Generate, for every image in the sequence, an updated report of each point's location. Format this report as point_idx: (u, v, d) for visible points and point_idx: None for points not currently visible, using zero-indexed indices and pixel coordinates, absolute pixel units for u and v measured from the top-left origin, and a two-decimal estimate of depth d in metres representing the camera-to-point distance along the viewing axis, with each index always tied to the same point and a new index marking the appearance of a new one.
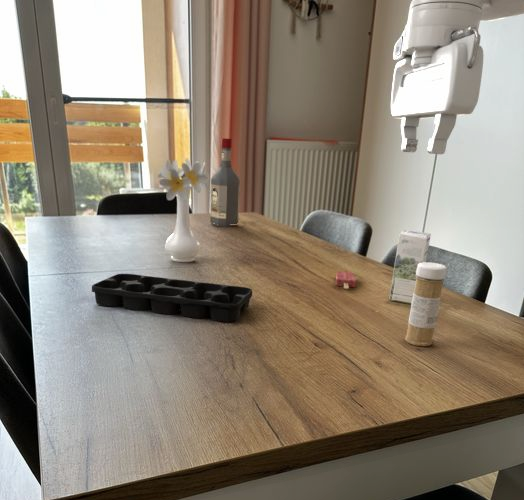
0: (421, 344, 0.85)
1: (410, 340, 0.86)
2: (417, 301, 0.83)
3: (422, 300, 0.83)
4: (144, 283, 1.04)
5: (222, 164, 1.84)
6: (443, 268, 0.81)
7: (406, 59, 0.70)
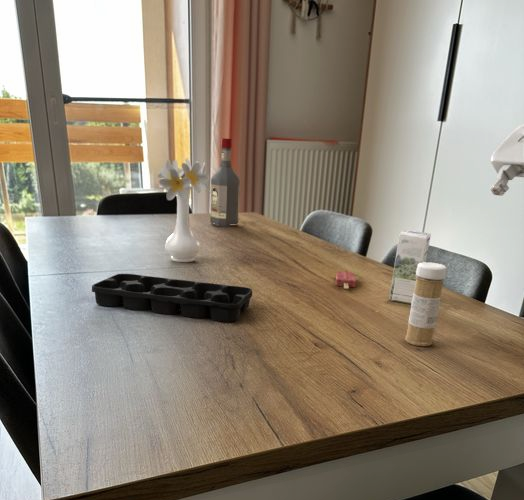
0: (421, 344, 0.85)
1: (410, 340, 0.86)
2: (417, 301, 0.83)
3: (422, 300, 0.83)
4: (144, 283, 1.04)
5: (222, 164, 1.84)
6: (443, 268, 0.81)
7: None
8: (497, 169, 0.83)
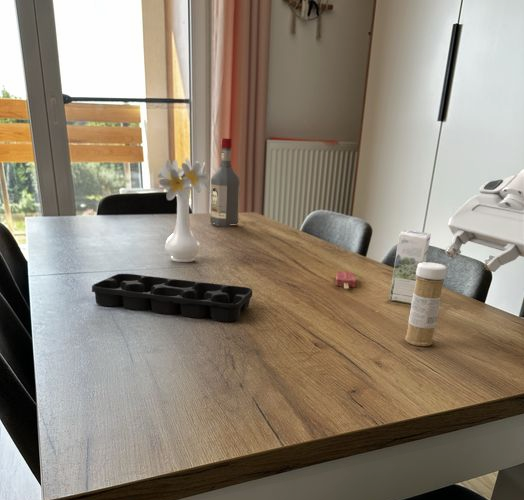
0: (421, 344, 0.85)
1: (410, 340, 0.86)
2: (417, 301, 0.83)
3: (422, 300, 0.83)
4: (144, 283, 1.04)
5: (222, 164, 1.84)
6: (443, 268, 0.81)
7: (496, 195, 0.86)
8: (453, 232, 0.92)
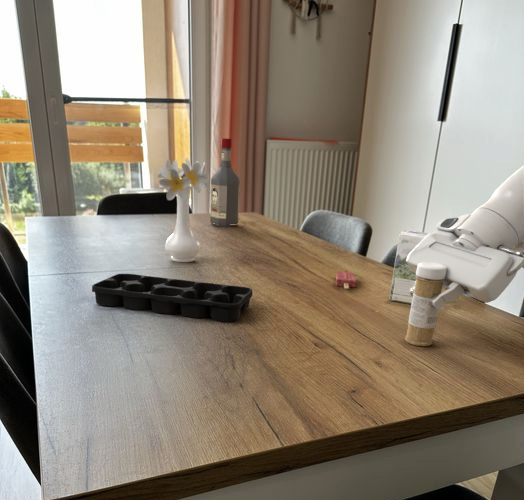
0: (421, 344, 0.85)
1: (410, 340, 0.86)
2: (417, 301, 0.83)
3: (422, 300, 0.83)
4: (144, 283, 1.04)
5: (222, 164, 1.84)
6: (443, 268, 0.81)
7: (451, 234, 0.86)
8: (412, 268, 0.92)
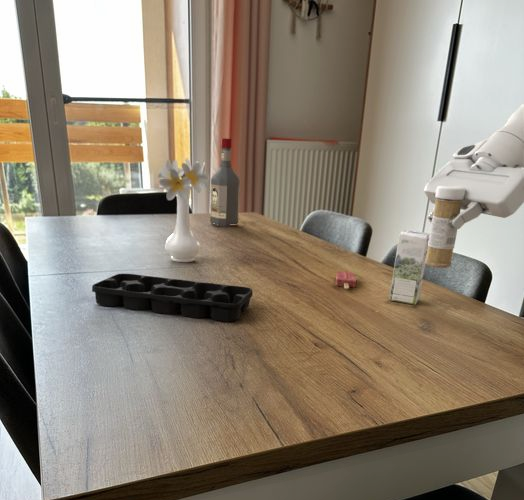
0: (440, 265, 0.89)
1: (430, 262, 0.90)
2: (436, 222, 0.87)
3: (442, 221, 0.87)
4: (144, 283, 1.04)
5: (222, 164, 1.84)
6: (462, 188, 0.85)
7: (468, 160, 0.90)
8: (429, 198, 0.96)
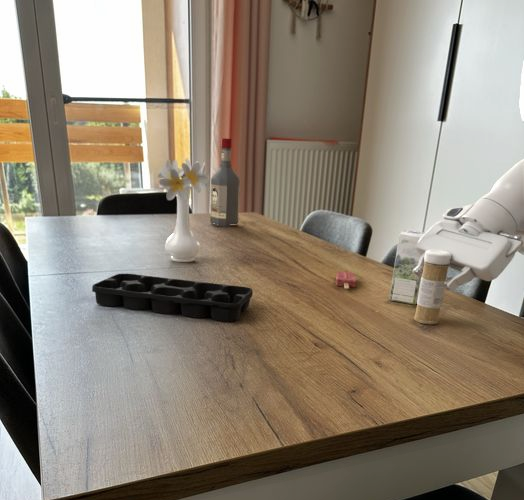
0: (428, 322, 0.96)
1: (418, 319, 0.97)
2: (425, 284, 0.94)
3: (429, 283, 0.94)
4: (144, 283, 1.04)
5: (222, 164, 1.84)
6: (448, 254, 0.92)
7: (456, 222, 0.96)
8: (421, 254, 1.03)
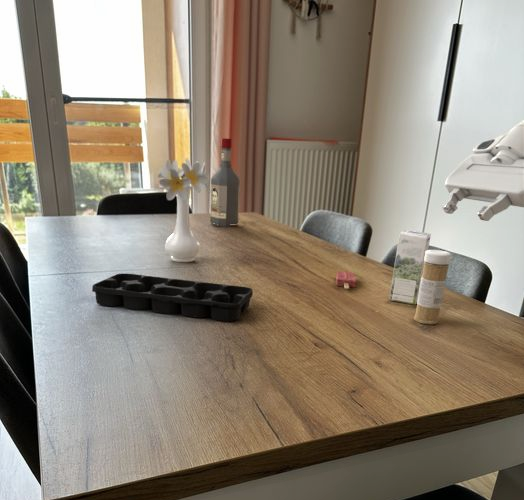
0: (428, 322, 0.96)
1: (418, 319, 0.97)
2: (425, 284, 0.94)
3: (429, 283, 0.94)
4: (144, 283, 1.04)
5: (222, 164, 1.84)
6: (448, 254, 0.92)
7: (488, 154, 0.93)
8: (450, 191, 0.99)
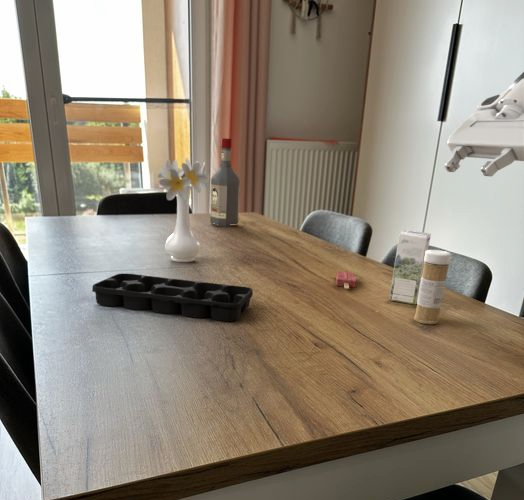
0: (428, 322, 0.96)
1: (418, 319, 0.97)
2: (425, 284, 0.94)
3: (429, 283, 0.94)
4: (144, 283, 1.04)
5: (222, 164, 1.84)
6: (448, 254, 0.92)
7: (493, 109, 0.90)
8: (452, 150, 0.96)
